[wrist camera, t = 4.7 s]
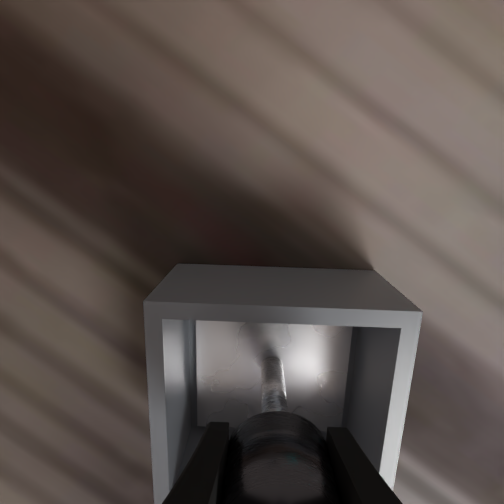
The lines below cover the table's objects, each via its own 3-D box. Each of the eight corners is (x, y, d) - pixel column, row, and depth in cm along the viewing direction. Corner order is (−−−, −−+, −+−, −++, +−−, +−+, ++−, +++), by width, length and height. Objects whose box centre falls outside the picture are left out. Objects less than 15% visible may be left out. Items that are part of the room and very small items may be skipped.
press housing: (354, 435, 17) (386, 527, 12) (181, 428, 17) (154, 516, 13) (374, 270, 15) (422, 311, 10) (177, 263, 15) (143, 301, 11)
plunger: (338, 426, 16) (405, 641, 9) (198, 419, 16) (147, 627, 9) (353, 294, 14) (450, 422, 7) (197, 288, 15) (132, 408, 7)
